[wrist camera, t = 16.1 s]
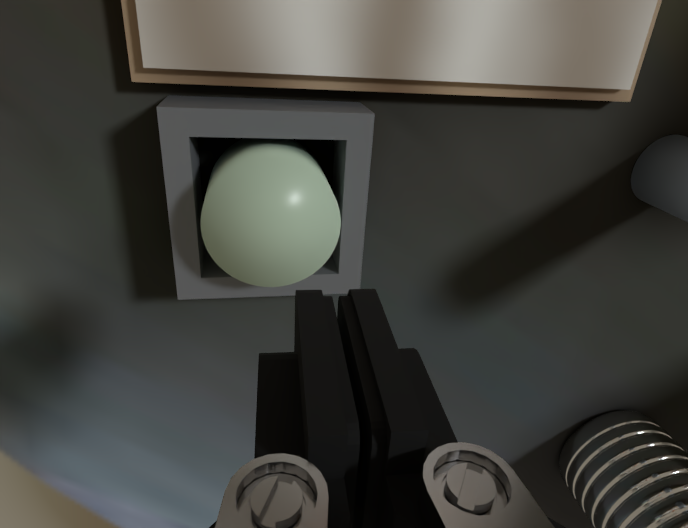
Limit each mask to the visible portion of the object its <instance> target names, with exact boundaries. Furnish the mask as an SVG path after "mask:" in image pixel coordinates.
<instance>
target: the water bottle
mask: <svg viewBox="0 0 688 528" xmlns="http://www.w3.org/2000/svg"><path fill="white" fill-rule="evenodd" d="M559 470H560V473H561V476H562V478H563V480H564V482H565V484H566V486H567V487H568V489H569V491H570V493H571V494H572V496H573V497H574V499H575V500H576V501H577V502H578V504H579V506H580V508H581V509H582V511H583V512H584V513H585V514H586V516H587V518H588V519H589V521H590V523H591V524H592V525H593V527H594V528H688V453H687V452H686V451H685V450H684V449H683V447H682V446H681V445H680V444H678V443H677V442H676V441H675V440H674V439H673V438H672V437H671V435H670V434H669V433H667V432H666V431H665V430H664V429H662V427H661V426H659V425H658V424H657V423H656V422H655V421H653V420H652V419H651V418H649V417H648V416H646V415H644V414H642V413H639V412H636V411H628V410H622V411H614V412H610V413H606V414H603V415H601V416H598V417H596V418H594V419H592V420H590V421H589V422H587V423H585V424H584V425H583V426H581V427H580V428H579V429H578V430H576V431H575V432H574V433H573V434H572V435H571V436H570V438H569V439H568V440H567V442H566V443H565V445H564V446H563V448H562V451H561V453H560V457H559Z"/></svg>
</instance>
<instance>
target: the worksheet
mask: <svg viewBox="0 0 688 528" xmlns="http://www.w3.org/2000/svg"><path fill="white" fill-rule="evenodd" d="M661 2H662V0H121V4H122V12H123V19H124V27H125V35H126V42H127V50H128V57H129V65H130V73H131V80H132V82H146V83H170V84H195V85H220V86H245V87H270V88H295V89H320V90H345V91H370V92H395V93H420V94H445V95H470V96H495V97H520V98H545V99H569V100H594V101H619V102H630V101H631V98H632V94H633V91H634V88H635V85H636V82H637V78H638V75H639V72H640V69H641V66H642V62H643V59H644V56H645V53H646V50H647V46H648V43H649V40H650V37H651V34H652V30H653V27H654V24H655V21H656V18H657V14H658V11H659V8H660V5H661Z"/></svg>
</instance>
